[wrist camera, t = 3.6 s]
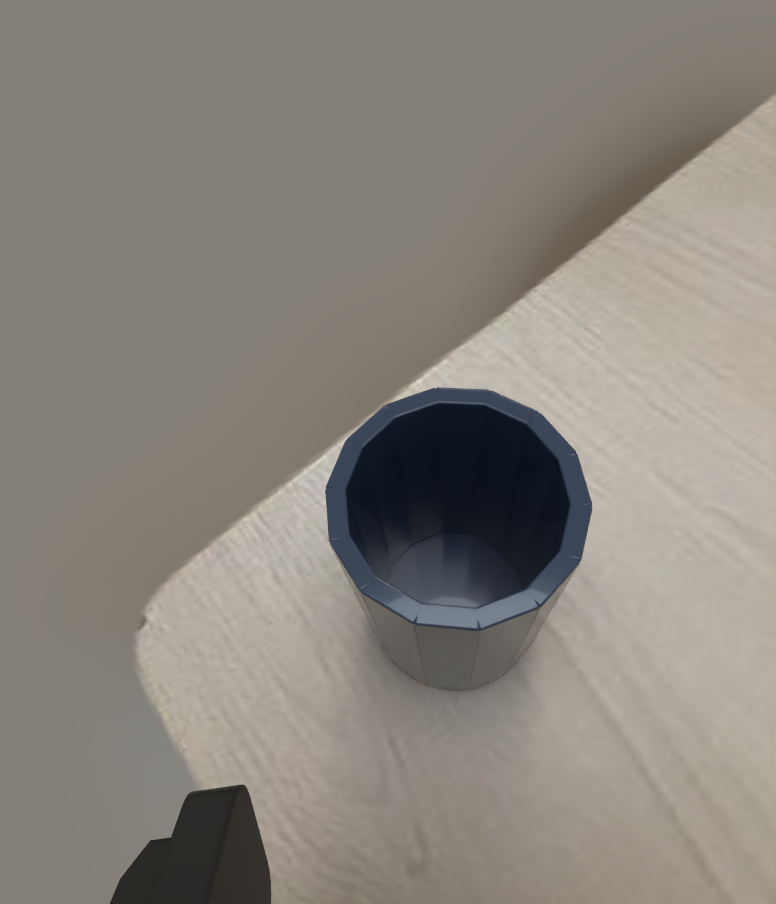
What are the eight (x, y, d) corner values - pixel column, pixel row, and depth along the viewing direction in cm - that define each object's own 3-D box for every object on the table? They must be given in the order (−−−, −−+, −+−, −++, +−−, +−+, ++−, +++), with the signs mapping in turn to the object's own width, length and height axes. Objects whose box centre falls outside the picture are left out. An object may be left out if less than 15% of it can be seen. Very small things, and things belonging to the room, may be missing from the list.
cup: (432, 728, 19) (420, 690, 11) (342, 580, 22) (280, 465, 14) (571, 629, 20) (650, 531, 12) (470, 499, 23) (482, 347, 15)
